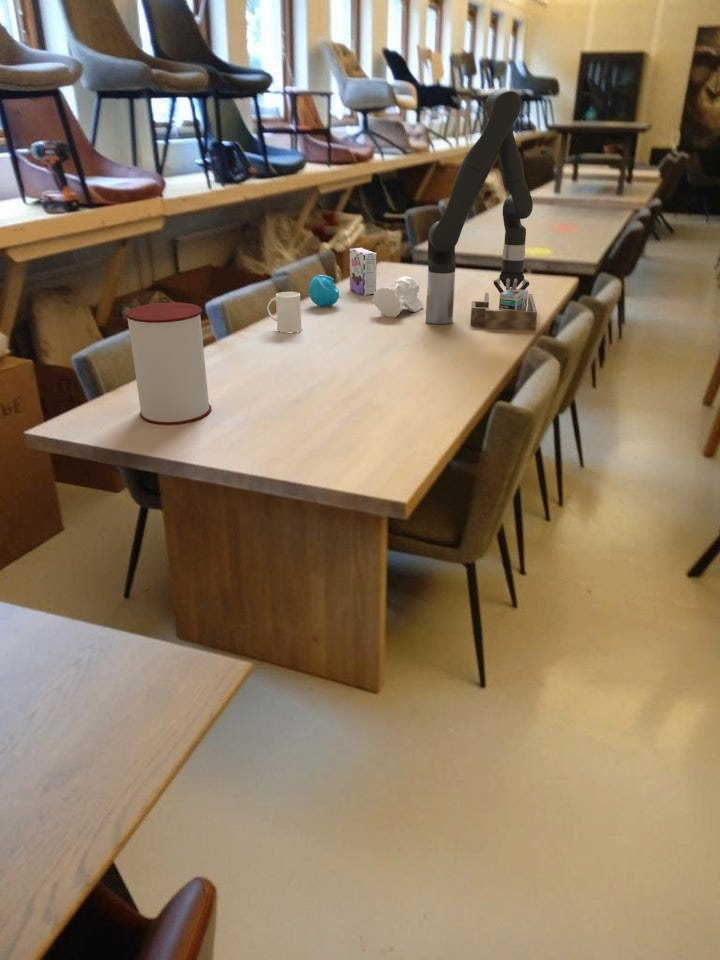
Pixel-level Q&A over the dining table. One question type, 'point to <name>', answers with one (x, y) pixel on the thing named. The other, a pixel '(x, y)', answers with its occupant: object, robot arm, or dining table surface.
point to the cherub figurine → (398, 297)
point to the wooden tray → (503, 316)
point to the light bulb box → (513, 300)
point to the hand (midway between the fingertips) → (509, 307)
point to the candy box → (363, 271)
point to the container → (169, 362)
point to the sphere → (323, 291)
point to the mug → (287, 311)
